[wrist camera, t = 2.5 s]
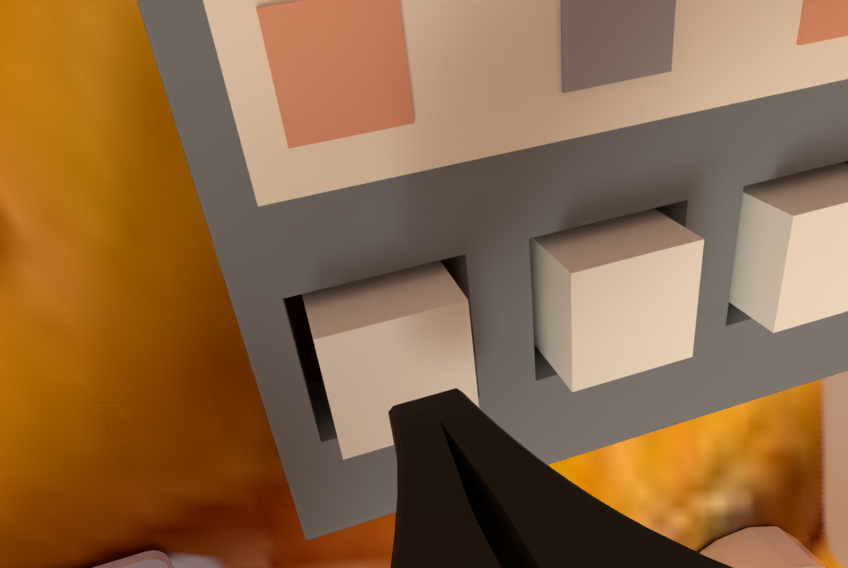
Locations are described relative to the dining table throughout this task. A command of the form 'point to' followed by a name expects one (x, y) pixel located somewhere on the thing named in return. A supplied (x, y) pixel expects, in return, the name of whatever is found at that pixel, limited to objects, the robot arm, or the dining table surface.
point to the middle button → (615, 296)
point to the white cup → (761, 550)
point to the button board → (494, 186)
